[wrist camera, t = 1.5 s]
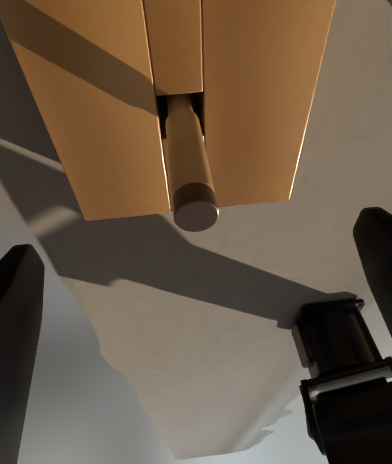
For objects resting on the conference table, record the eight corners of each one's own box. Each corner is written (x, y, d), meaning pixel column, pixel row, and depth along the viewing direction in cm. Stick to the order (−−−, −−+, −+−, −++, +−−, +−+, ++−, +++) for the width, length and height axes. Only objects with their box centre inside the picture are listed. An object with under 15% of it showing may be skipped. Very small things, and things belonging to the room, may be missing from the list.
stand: (312, -87, 12) (353, -72, 9) (272, 159, 20) (289, 200, 17) (6, -66, 11) (-28, -44, 9) (91, 177, 19) (85, 221, 17)
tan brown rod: (188, 61, 15) (219, 198, 9) (189, 89, 16) (218, 230, 10) (159, 64, 15) (172, 203, 9) (162, 91, 16) (175, 234, 10)
